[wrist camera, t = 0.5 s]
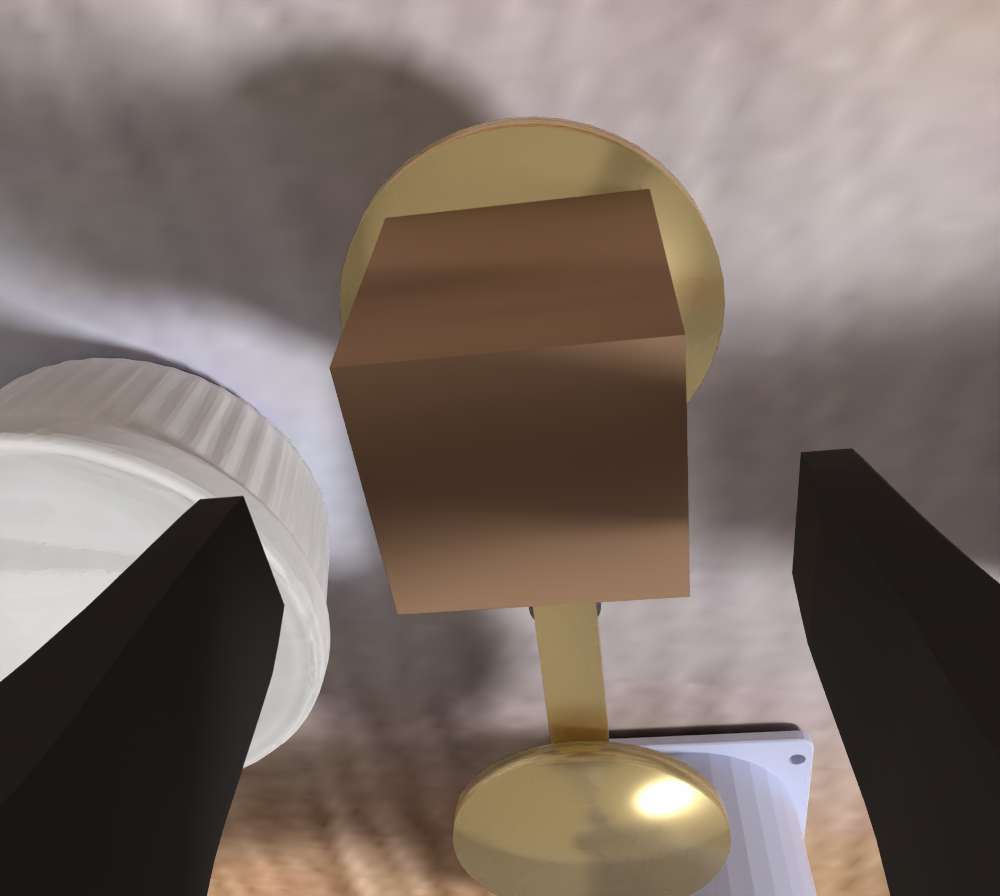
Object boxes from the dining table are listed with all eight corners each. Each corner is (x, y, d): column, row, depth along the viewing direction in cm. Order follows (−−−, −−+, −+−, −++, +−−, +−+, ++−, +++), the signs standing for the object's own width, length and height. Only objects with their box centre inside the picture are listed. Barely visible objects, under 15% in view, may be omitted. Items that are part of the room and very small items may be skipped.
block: (658, 412, 18) (689, 596, 14) (430, 431, 18) (397, 614, 14) (649, 188, 15) (685, 334, 11) (385, 218, 16) (329, 368, 12)
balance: (699, 728, 30) (729, 914, 25) (486, 738, 31) (474, 920, 26) (694, 42, 18) (748, 142, 13) (341, 87, 19) (267, 197, 14)
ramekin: (160, 230, 21) (59, 346, 16) (443, 549, 26) (422, 701, 22) (-140, 438, 25) (-284, 577, 20) (160, 680, 30) (95, 830, 26)
